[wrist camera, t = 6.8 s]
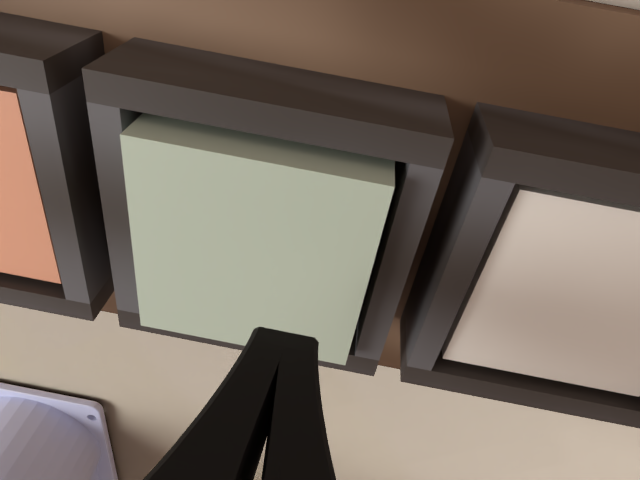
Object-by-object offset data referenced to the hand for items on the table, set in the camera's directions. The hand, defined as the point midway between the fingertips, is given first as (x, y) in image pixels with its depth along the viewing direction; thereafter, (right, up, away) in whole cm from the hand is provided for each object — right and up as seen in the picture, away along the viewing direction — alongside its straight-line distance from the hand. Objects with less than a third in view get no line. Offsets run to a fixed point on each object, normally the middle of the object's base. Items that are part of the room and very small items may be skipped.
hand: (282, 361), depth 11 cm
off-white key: (+9, +2, +5) cm, 10 cm away
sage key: (-1, +3, +4) cm, 5 cm away
